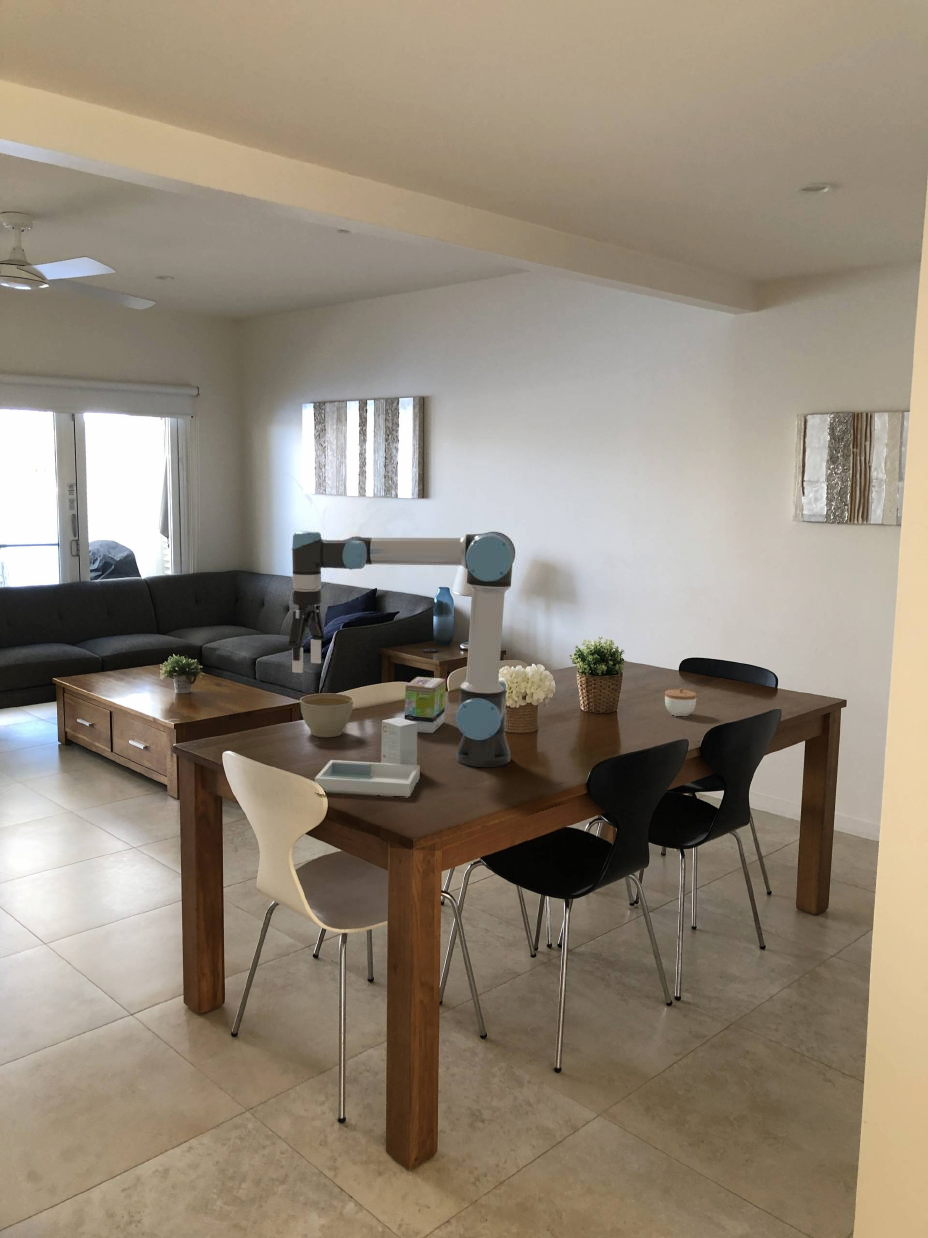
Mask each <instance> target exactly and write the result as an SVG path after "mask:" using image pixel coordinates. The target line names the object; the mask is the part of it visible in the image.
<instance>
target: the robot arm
mask: <svg viewBox="0 0 928 1238" xmlns="http://www.w3.org/2000/svg"><path fill="white" fill-rule="evenodd" d="M291 551H292V554H291V556H292V576H291V578H290V579H291V580H292V588H293V589H294V590H293V591H292V603H293V605H296V606H298V609H294V610H293V612H292V622H291V627H290V634H289V640H288V645H287V646H288V647H287V648H289V649H291V653H292V654H291V655H292V656H291V660H292V661H291V663H292V665H291V666H292V667H291V668H292V671H291V672H292V673H295V674H297V673H298V674H303V673H304V647H302V646H303V642H304V638H305V636H306V632H307V628H308V630H309V633H310V636H311V638H312V639H310V664H321V663H322V640H324V639H325V631H324V625H323V621H322V615H321V603H322V591H321V590H320V589H321V588H322V571H321V570H322V569H345V570H361V569H362V570H363V568H364V567H365V566H367V565H383V566H384V565H387V566H388V565H392V566H396V565H397V566H398V565H399V566H405V565H406V566H457V567H458V566H462V567H463V568H464V569H465V570H467V571H466V573H467V574H466V585H467V586H468V587H469V589H470V590H471V597H470V598H471V602H470V615H469V617H470V618H469V633H468V647H467V663H466V677H465V680H464V681H463V682H461V684H460V686H459V697H458V707H457V710H456V713H455V720H456V724H457V728H458V729H459V731H460V733H462V736H461V739H460V742H459V744H458V747H457V751H456V760H457V762H458V763H460V764H463V765H466V766H469V767H475V768H476V767H479V768H495V767H502V766H505V765H508V764H509V763H510V762H511V750H510V748H509V744H508V739H507V737H506V711H507V710H506V709H507V708H506V707H507V706H506V705H507V703H506V702H507V693H508V690H507V684H506V683H505V681H503V680H500V679H499V676H500V663H501V648H502V637H503V636H502V635H503V634H502V633H503V621H504V608H505V607H504V606H505V605H504V604H505V593H506V592H507V591H508V590H510V588H511V587H512V577H513V576H512V575H513V564H514V562H515V558H516V547H515V544H514V542H513V540H512V539H511V538H510V537H509V536H508V535H507V534H505V533H503V532H499V531H488V532H483V533H471V534H470V533H467V534H465V535H463V537H370V536H369V537H362V536H358V535H357V536H351V537H349V538H345V539H341V540H340V539H324V538H323V539H322V535H321V533H320V532H319V531H296V532H294V534H293V536H292V548H291Z"/></svg>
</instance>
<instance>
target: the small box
mask: <svg viewBox="0 0 928 1238" xmlns="http://www.w3.org/2000/svg"><path fill="white" fill-rule="evenodd" d="M380 754H381V756H380V757H381V758H380V760H381V762H380V763H390V764H407V765H418V732H417V723H416V722H413V721H409V720H406V719H404V718H401V717H393V718H388V719H383V720H381V750H380Z"/></svg>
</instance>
